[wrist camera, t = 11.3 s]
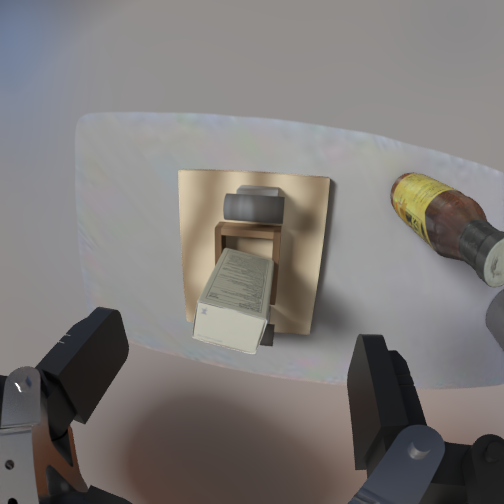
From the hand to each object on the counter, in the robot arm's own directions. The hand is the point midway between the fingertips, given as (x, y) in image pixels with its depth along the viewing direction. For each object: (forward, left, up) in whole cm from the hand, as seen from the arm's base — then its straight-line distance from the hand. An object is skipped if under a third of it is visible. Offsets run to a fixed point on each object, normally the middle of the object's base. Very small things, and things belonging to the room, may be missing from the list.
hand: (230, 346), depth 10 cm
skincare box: (+3, +10, -26) cm, 27 cm away
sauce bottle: (-17, 0, -29) cm, 34 cm away
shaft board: (+3, +10, -29) cm, 31 cm away
